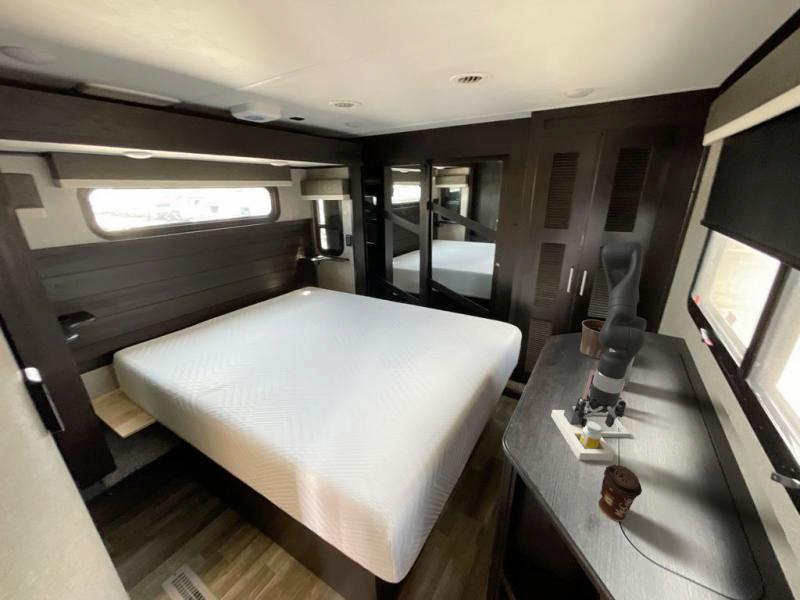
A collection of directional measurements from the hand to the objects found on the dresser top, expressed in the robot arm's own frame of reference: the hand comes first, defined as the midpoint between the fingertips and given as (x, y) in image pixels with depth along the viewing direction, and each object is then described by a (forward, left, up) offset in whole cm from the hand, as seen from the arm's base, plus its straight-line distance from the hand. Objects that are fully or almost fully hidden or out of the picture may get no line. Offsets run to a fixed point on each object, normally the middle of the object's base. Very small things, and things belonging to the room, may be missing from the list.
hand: (594, 425), depth 100 cm
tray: (-12, -11, -10) cm, 19 cm away
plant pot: (-38, -63, -10) cm, 74 cm away
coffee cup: (+5, +21, -10) cm, 24 cm away
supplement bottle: (0, 0, -10) cm, 10 cm away
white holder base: (0, -5, -10) cm, 11 cm away
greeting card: (-18, -23, -10) cm, 31 cm away
